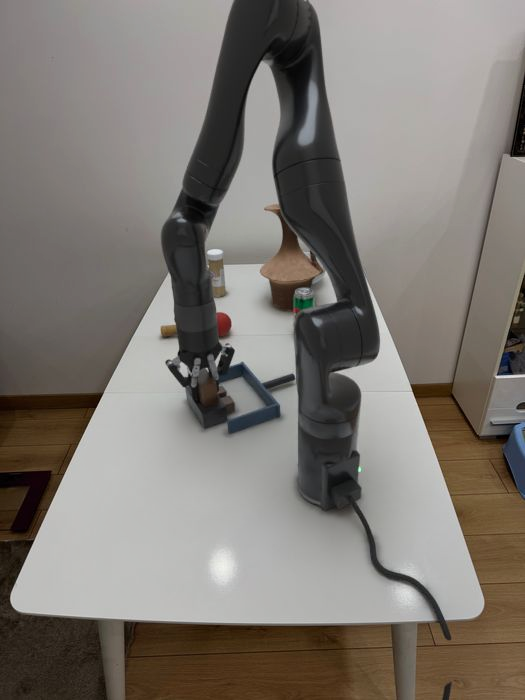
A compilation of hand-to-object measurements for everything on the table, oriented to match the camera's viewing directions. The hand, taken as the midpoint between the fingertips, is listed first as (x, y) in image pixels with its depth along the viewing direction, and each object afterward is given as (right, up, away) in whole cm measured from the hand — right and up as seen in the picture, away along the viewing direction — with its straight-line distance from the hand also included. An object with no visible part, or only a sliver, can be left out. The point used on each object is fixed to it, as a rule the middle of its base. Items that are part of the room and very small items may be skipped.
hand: (205, 395), depth 97 cm
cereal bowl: (+23, +30, +53) cm, 65 cm away
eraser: (0, -3, +2) cm, 4 cm away
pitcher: (+20, +23, +42) cm, 52 cm away
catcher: (+10, 0, +6) cm, 11 cm away
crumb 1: (+2, -1, +5) cm, 6 cm away
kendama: (-5, +13, +28) cm, 31 cm away
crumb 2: (+4, -3, +2) cm, 6 cm away
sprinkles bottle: (-2, +26, +49) cm, 55 cm away
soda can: (+22, +13, +27) cm, 37 cm away
